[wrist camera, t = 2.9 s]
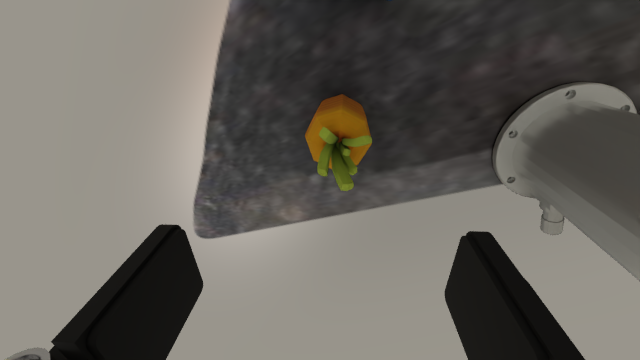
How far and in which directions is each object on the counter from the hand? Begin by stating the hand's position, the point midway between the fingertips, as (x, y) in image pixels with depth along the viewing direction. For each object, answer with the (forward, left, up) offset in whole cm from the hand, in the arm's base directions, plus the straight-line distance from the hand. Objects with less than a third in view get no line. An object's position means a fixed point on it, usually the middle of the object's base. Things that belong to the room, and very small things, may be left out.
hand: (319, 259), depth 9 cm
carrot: (0, 0, -22) cm, 22 cm away
